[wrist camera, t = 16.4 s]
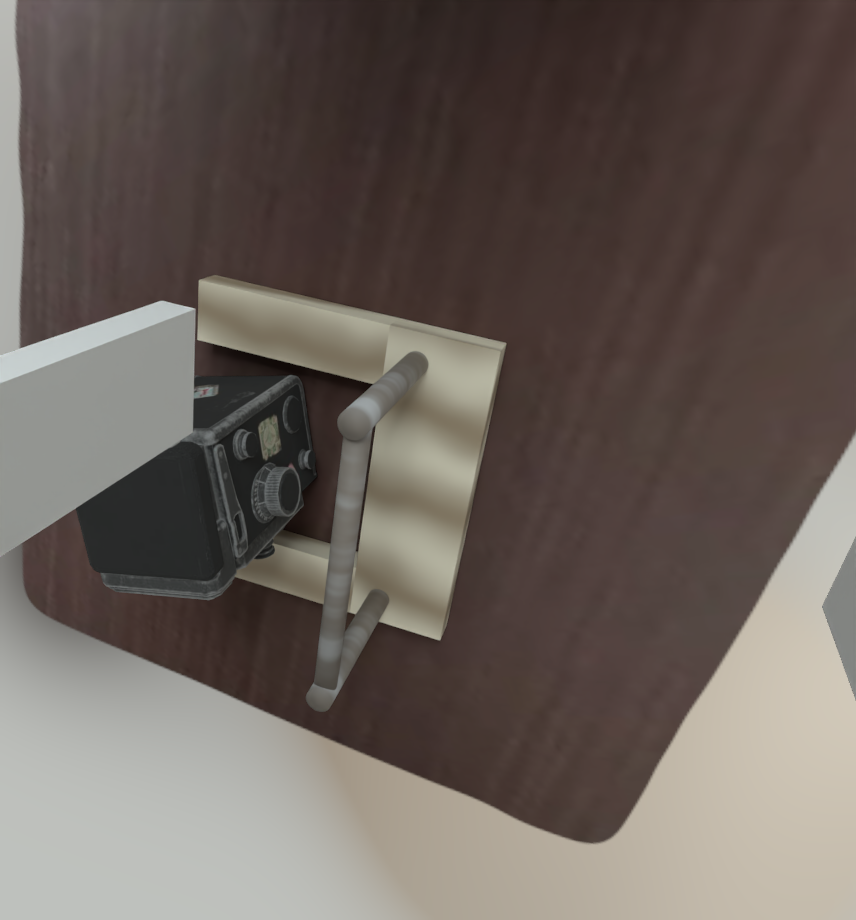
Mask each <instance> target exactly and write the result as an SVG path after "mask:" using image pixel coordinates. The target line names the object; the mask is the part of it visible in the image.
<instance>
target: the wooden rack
mask: <svg viewBox="0 0 856 920" xmlns="http://www.w3.org/2000/svg"><path fill="white" fill-rule="evenodd" d="M197 340H200V341H204V342H208V343H212V344H216V345H220V346H224V347H228V348H232V349H236V350H240V351H244V352H248V353H252V354H256V355H260V356H264V357H268V358H272V359H276V360H280V361H284V362H288V363H292V364H295V365H299V366H303V367H307V368H311V369H315V370H319V371H323V372H327V373H331V374H335V375H339V376H343V377H347V378H351V379H355V380H359V381H363V382H367V383H371V384H373V385H372V386H371V387H370V388H369V389H368V390H366V391H365V392H364V393H363V394H362V395H361V396H360V397H359V398H358V399H356V400H355V401H354V402H353V403H352V404H351V405H350V406H349V407H347V408H346V409H345V410H344V411H343V412H342V413H341V414H340V415H339V417H338V420H337V425H338V429H339V431H340V432H341V434H342V435H343V444H342V452H341V461H340V469H339V478H338V486H337V494H336V503H335V511H334V519H333V528H332V536H331V544H330V543H326V542H323V541H319V540H316V539H313V538H309V537H306V536H303V535H299V534H296V533H292V532H289V531H286V530H282V531H280V532H279V533H278V534H277V535H276V536H275V537H274V538H273V540H274V542H273V544H272V545H273V546H274V548H275V552H274V554H273V555H271V556H270V557H268V558H264V559H253V560H252V561H251V562H250V563H249V564H248V565H247V567H245V568H242V569H239V570H237V574H236V575H235V576H234V577H237V578H240V579H244V580H247V581H250V582H253V583H256V584H260V585H263V586H266V587H269V588H272V589H276V590H279V591H282V592H285V593H289V594H292V595H295V596H298V597H301V598H305V599H308V600H311V601H314V602H317V603H321V604H323V612H322V620H321V628H320V637H319V645H318V654H317V662H316V670H315V679H314V683H313V685H312V686H311V688H310V690H309V691H308V693H307V694H306V701H307V703H308V705H309V706H310V707H311V708H313V709H314V710H316V711H320V712H324V711H327V710H329V708H330V707H331V705H332V703H333V701H334V700H335V698H336V696H337V694H338V693H339V691H340V689H341V687H342V685H343V684H344V682H345V680H346V678H347V677H348V675H349V673H350V671H351V669H352V668H353V666H354V664H355V662H356V661H357V659H358V657H359V655H360V653H361V652H362V650H363V648H364V646H365V645H366V643H367V641H368V639H369V637H370V636H371V634H372V632H373V630H374V629H375V627H376V625H377V623H378V622H382V623H385V624H388V625H391V626H395V627H398V628H401V629H404V630H407V631H411V632H414V633H417V634H420V635H423V636H427V637H430V638H433V639H436V640H441V637H442V635H443V633H444V630H445V628H446V625H447V622H448V617H449V612H450V607H451V603H452V598H453V593H454V589H455V584H456V579H457V574H458V570H459V565H460V560H461V556H462V551H463V546H464V542H465V537H466V532H467V527H468V523H469V518H470V513H471V509H472V504H473V499H474V494H475V490H476V485H477V480H478V476H479V471H480V466H481V461H482V457H483V452H484V447H485V443H486V438H487V433H488V429H489V424H490V419H491V414H492V410H493V405H494V400H495V396H496V391H497V386H498V381H499V377H500V372H501V367H502V363H503V358H504V353H505V349H506V344H507V343H504V342H500V341H496V340H491V339H487V338H483V337H478V336H474V335H470V334H466V333H461V332H457V331H453V330H448V329H444V328H440V327H436V326H431V325H427V324H423V323H419V322H414V321H410V320H406V319H401V318H397V317H393V316H389V315H384V314H380V313H376V312H371V311H367V310H363V309H359V308H354V307H350V306H346V305H342V304H337V303H333V302H329V301H324V300H320V299H316V298H312V297H307V296H303V295H299V294H294V293H290V292H286V291H282V290H277V289H273V288H269V287H265V286H260V285H256V284H252V283H247V282H243V281H239V280H235V279H230V278H226V277H222V276H218V275H213V276H210V277H207V278H204V279H201V280H199V294H198V337H197ZM375 425H376V428H375V435H374V442H373V450H372V457H371V464H370V471H369V478H368V485H367V493H366V500H365V507H364V514H363V521H362V528H361V536H360V543H359V550H358V552H357V551H356V545H357V538H358V531H359V524H360V516H361V509H362V502H363V495H364V487H365V480H366V473H367V465H368V458H369V451H370V444H371V436H372V429H373V427H374V426H375ZM347 612H350V613H353V614H356V615H355V617H354V618H353V620H352V621H351V623H350V625H349V626H348V628H347V630H346V631H345V625H346V618H347Z"/></svg>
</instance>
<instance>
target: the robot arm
mask: <svg viewBox="0 0 856 920" xmlns="http://www.w3.org/2000/svg"><path fill="white" fill-rule="evenodd" d="M194 355H195V309H194V308H190V307H186V306H182V305H177V304H173V303H169V302H165V301H159V302H156V303H153V304H150V305H147V306H144V307H142V308H139V309H136V310H133V311H130V312H127V313H124V314H121V315H118V316H115V317H112V318H109V319H106V320H103V321H100V322H97V323H94V324H91V325H88V326H85V327H82V328H79V329H76V330H73V331H70V332H68V333H65V334H62V335H59V336H56V337H53V338H50V339H47V340H44V341H41V342H38V343H35V344H32V345H29V346H26V347H23V348H20V349H17V350H14V351H12V352H8V353H5V354H3V355H0V557H1V556H3V555H4V554H6V553H7V552H9V551H10V550H12V549H14V548H15V547H16V546H18V545H20V544H21V543H23V542H24V541H26V540H27V539H29V538H30V537H32V536H34V535H35V534H37V533H38V532H40V531H41V530H43V529H44V528H46V527H47V526H49V525H51V524H52V523H54V522H55V521H57V520H58V519H60V518H61V517H63V516H64V515H66V514H68V513H69V512H71V511H72V510H74V509H75V508H77V507H78V506H80V505H81V504H83V503H85V502H86V501H88V500H89V499H91V498H92V497H94V496H95V495H97V494H98V493H100V492H102V491H103V490H105V489H106V488H108V487H109V486H111V485H112V484H114V483H115V482H117V481H118V480H120V479H122V478H123V477H125V476H126V475H128V474H129V473H131V472H132V471H134V470H135V469H137V468H139V467H140V466H142V465H143V464H145V463H146V462H148V461H149V460H151V459H152V458H154V457H156V456H157V455H159V454H160V453H162V452H163V451H165V450H166V449H168V448H169V447H171V446H173V445H174V444H176V443H177V442H179V441H180V440H182V439H183V438H185V437H186V436H188V435H190V434H191V433H193V401H194ZM822 608H823V610H824V613H825V616H826V619H827V622H828V624H829V627H830V630H831V633H832V635H833V638H834V641H835V644H836V647H837V649H838V652H839V655H840V657H841V660H842V663H843V666H844V669H845V672H846V674H847V677H848V680H849V683H850V685H851V688H852V691H853V694H854V696H855V699H856V537H855V539H854V542H853V544H852V546H851V548H850V550H849V552H848V554H847V556H846V558H845V560H844V562H843V564H842V566H841V569H840V570H839V573H838V575H837V577H836V579H835V581H834V583H833V585H832V587H831V589H830V591H829V593H828V595H827V598H826V599H825V602H824V604H823V606H822Z"/></svg>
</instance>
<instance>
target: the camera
mask: <svg viewBox="0 0 856 920" xmlns="http://www.w3.org/2000/svg"><path fill="white" fill-rule="evenodd" d="M315 461H316V459H315V453H314V451H313V449H312V442H311V436H310V429H309V422H308V416H307V409H306V402H305V396H304V389H303V385H302V382H301V380H300V379H299V377H298V376H294V375H289V376H209V377H202V376H194V401H193V433H191V434H190V435H188V436H186V437H185V438H183V439H182V440H180V441H179V442H177V443H176V444H174V445H173V446H171V447H169V448H168V449H166V450H165V451H163V452H162V453H160V454H159V455H157V456H156V457H154V458H152V459H151V460H149V461H148V462H146V463H145V464H143V465H142V466H140V467H139V468H137V469H135V470H134V471H132V472H131V473H129V474H128V475H126V476H125V477H123V478H122V479H120V480H118V481H117V482H115V483H114V484H112V485H111V486H109V487H108V488H106V489H105V490H103V491H102V492H100V493H98V494H97V495H95V496H94V497H92V498H91V499H89V500H88V501H86V502H85V503H83V504H81V505H80V506H78V507H77V508H76V511H77V515H78V518H79V522H80V526H81V530H82V534H83V538H84V542H85V546H86V550H87V554H88V558H89V562H90V565H91V566H92V568H93V569H94V570H95V571H97V572H99V573H101V577H102V580H103V583H104V584H105V585H106V586H108V587H109V588H111V589H113V590H114V591H115V592H125V593H136V594H148V595H159V596H170V597H181V598H193V599H204V600H211V599H214V598H215V597H218V596H220V595H221V594H222V593H223V592H224V591H225V590H226V589H227V588H228V587H229V586H230V585H231V584H232V580H233V579H234V578H235V577H234V576H235V575H236V574H237V570H239V569H242V568H245V567H247V565H248V564H249V563H250V562H251V561H252V560H253V559H264V558H268V557H270V556H271V555H273V554H274V552H275V548H274V546H273V545H272V544H273V542H274V540H273V538H274V537H275V536H276V535H277V534H278V533H279V532H280V531H282V530H283V529H284V527H285V525H286V524H287V523H288V522H289V521H290V520H291V519H292V517H293V516H294V515H295V514H296V513H297V512H298V511H299V510H300V509H301V508H302V507H303V506H304V502H303V496H302V491H303V490H304V489H305V488H306V487H307V486H308V485H309V484H310V483H311V482H312V481H313V480H314V479H315V478H316V477H317V472H316V469H315Z"/></svg>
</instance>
